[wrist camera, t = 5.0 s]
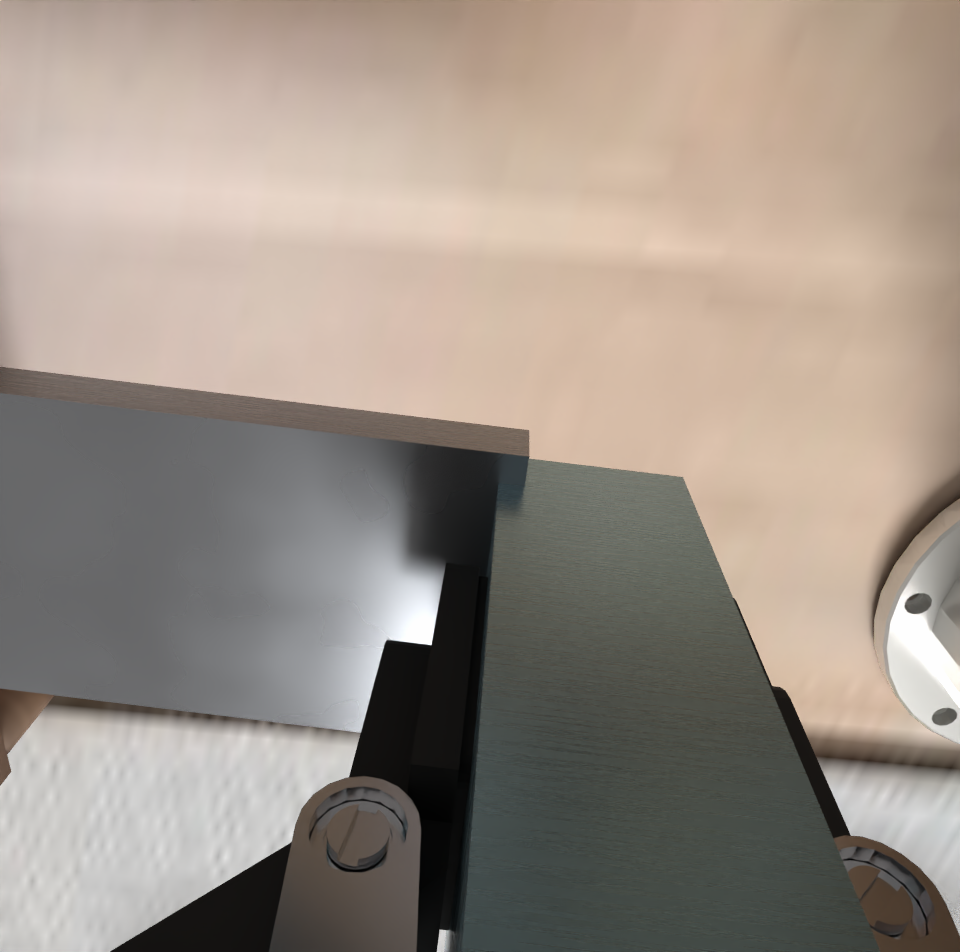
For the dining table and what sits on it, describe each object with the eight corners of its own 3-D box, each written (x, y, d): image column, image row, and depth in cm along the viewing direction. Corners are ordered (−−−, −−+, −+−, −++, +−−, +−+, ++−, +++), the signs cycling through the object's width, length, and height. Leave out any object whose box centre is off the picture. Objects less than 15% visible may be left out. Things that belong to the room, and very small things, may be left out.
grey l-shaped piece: (689, 449, 12) (1026, 1164, 4) (618, 724, 15) (730, 1482, 7) (-356, 324, 12) (-2151, 768, 4) (-234, 620, 15) (-1154, 1243, 7)
